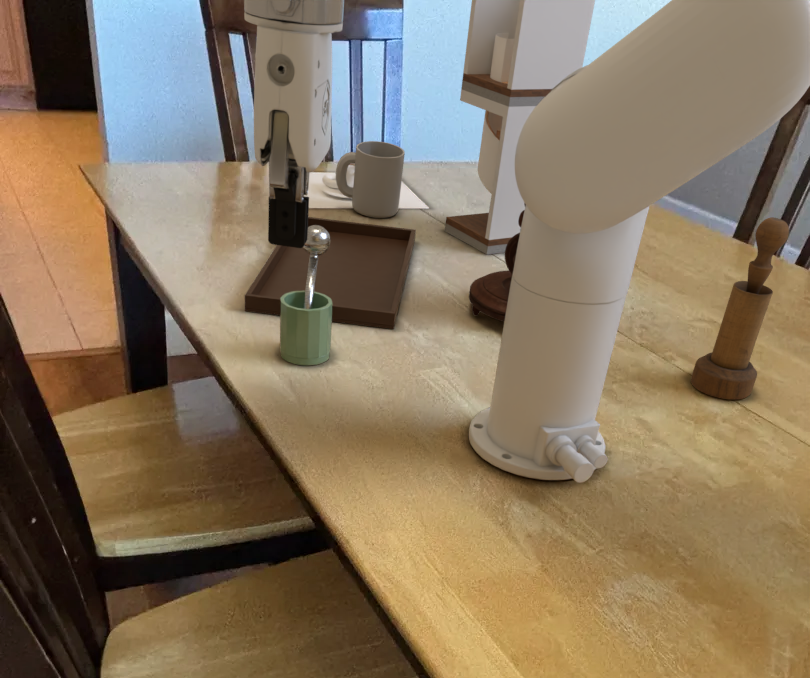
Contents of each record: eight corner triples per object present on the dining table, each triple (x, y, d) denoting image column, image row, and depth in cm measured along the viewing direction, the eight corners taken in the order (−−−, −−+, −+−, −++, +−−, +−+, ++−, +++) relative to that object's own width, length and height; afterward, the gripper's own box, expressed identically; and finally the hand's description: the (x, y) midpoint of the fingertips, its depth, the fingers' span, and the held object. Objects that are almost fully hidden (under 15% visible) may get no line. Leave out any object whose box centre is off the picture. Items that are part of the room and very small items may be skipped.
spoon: (315, 358, 90) (320, 246, 83) (287, 354, 90) (289, 243, 83) (328, 328, 97) (333, 223, 90) (301, 325, 97) (304, 220, 90)
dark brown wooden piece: (558, 352, 99) (597, 166, 87) (445, 315, 104) (467, 136, 92) (604, 314, 109) (645, 143, 97) (499, 283, 115) (526, 118, 103)
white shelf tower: (504, 224, 136) (547, -45, 115) (548, 246, 129) (601, -35, 108) (444, 230, 130) (477, -50, 110) (486, 254, 124) (530, -41, 103)
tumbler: (336, 363, 91) (339, 308, 88) (288, 367, 89) (288, 312, 86) (321, 342, 95) (322, 288, 91) (273, 346, 93) (273, 292, 89)
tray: (393, 329, 100) (395, 313, 98) (244, 311, 100) (244, 295, 99) (414, 243, 125) (415, 229, 124) (295, 228, 125) (295, 215, 124)
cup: (395, 221, 132) (402, 161, 126) (330, 211, 132) (334, 150, 126) (399, 204, 138) (406, 145, 132) (337, 194, 137) (341, 135, 131)
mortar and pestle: (705, 367, 99) (757, 204, 88) (760, 387, 96) (821, 221, 85) (680, 385, 95) (732, 216, 84) (736, 406, 92) (798, 234, 81)
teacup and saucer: (316, 185, 144) (317, 158, 141) (363, 185, 146) (364, 159, 143) (328, 201, 137) (329, 173, 135) (377, 201, 139) (379, 174, 137)
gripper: (327, 20, 60) (315, 278, 71) (356, 0, 72) (341, 223, 83) (220, 6, 60) (224, 266, 71) (266, -13, 72) (264, 213, 83)
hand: (287, 242), depth 77 cm, fingers closed
